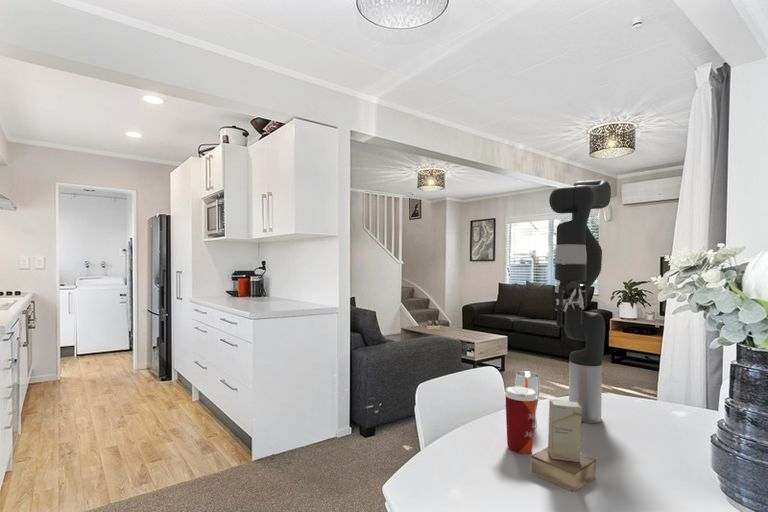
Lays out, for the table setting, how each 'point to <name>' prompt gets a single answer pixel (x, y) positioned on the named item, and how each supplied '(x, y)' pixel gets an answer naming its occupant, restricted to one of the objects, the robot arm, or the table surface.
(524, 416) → the coffee cup
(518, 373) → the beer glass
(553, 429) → the skincare box
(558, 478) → the pedestal
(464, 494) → the table surface
